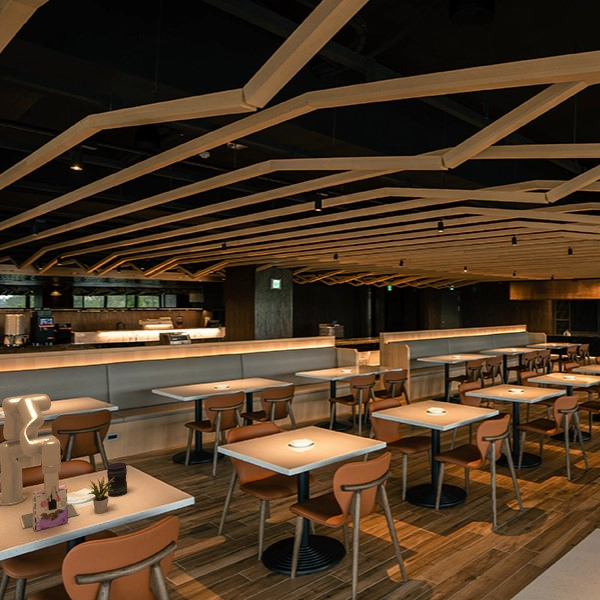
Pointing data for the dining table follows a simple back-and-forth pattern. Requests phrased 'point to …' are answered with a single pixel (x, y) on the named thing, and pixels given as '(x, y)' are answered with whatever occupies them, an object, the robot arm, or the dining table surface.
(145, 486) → the dining table surface
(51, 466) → the robot arm
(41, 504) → the candy box
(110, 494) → the rusty oil drum
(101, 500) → the house plant
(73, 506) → the mat
